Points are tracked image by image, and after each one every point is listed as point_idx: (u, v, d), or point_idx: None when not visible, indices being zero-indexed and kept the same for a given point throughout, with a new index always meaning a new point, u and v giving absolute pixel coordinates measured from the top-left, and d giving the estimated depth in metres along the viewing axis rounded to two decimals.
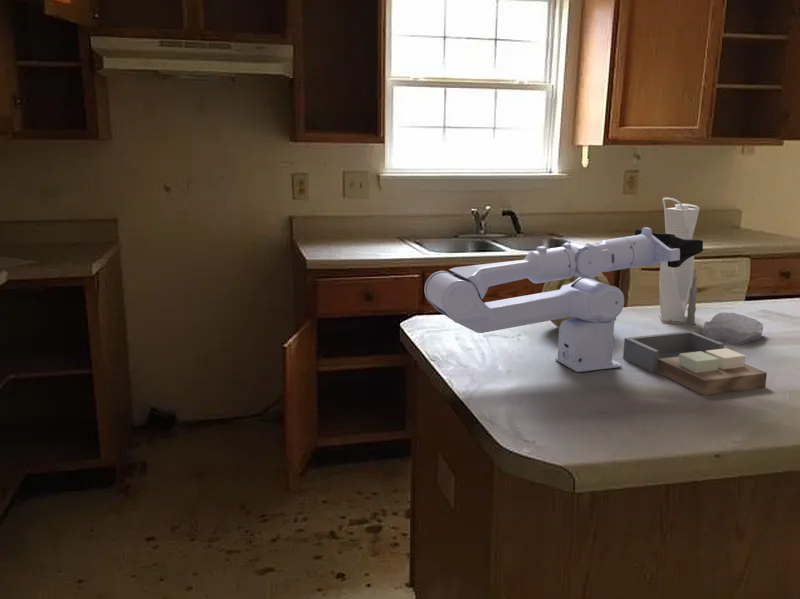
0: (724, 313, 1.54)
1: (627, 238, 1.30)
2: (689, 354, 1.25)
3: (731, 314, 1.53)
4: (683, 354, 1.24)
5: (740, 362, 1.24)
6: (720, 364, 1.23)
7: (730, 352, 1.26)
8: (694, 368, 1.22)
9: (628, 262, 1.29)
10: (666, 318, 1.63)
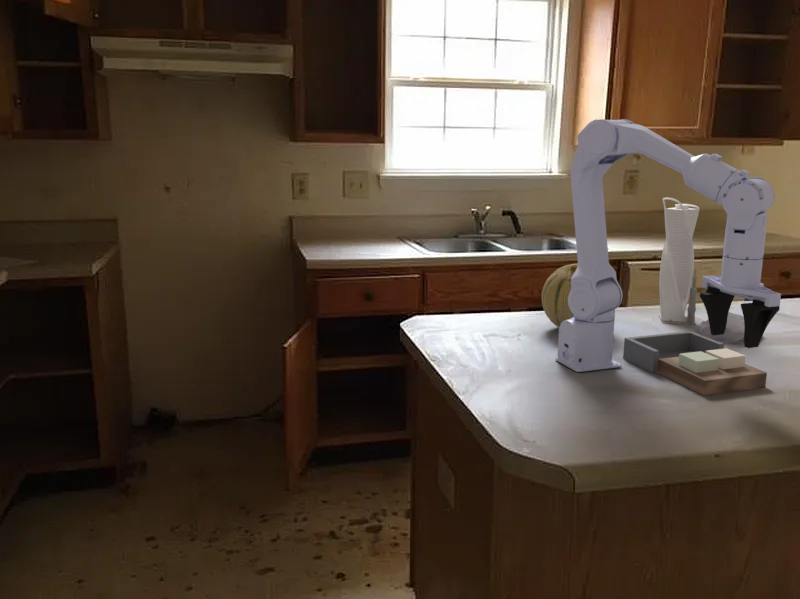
0: None
1: None
2: (689, 354, 1.25)
3: None
4: (683, 354, 1.24)
5: (740, 362, 1.24)
6: (720, 364, 1.23)
7: (730, 352, 1.26)
8: (694, 368, 1.22)
9: (729, 252, 1.11)
10: (666, 318, 1.63)
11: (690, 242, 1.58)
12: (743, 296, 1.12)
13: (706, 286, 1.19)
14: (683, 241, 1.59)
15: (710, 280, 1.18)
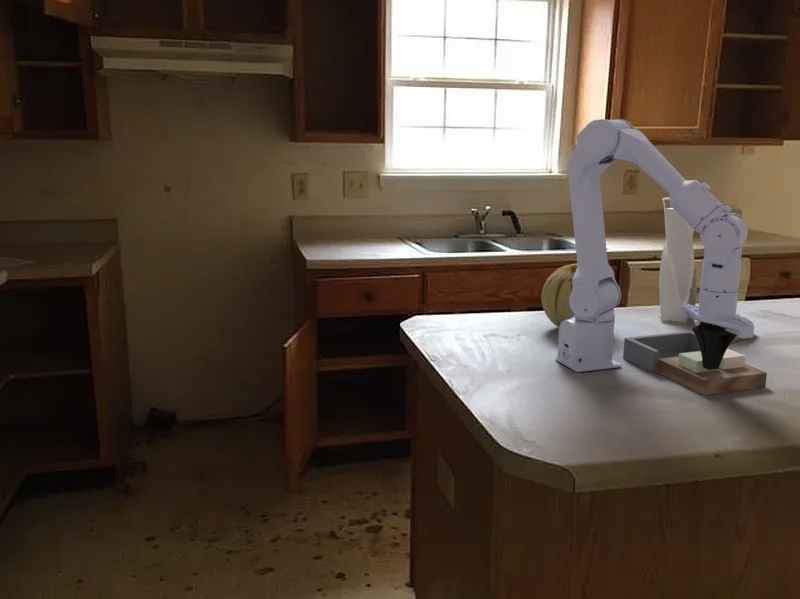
0: None
1: None
2: (689, 354, 1.25)
3: None
4: (683, 354, 1.25)
5: (740, 362, 1.24)
6: (720, 364, 1.23)
7: (730, 352, 1.26)
8: (694, 368, 1.22)
9: (707, 285, 1.16)
10: (666, 318, 1.63)
11: (690, 242, 1.58)
12: (719, 326, 1.18)
13: (685, 315, 1.25)
14: (683, 241, 1.59)
15: (689, 309, 1.23)
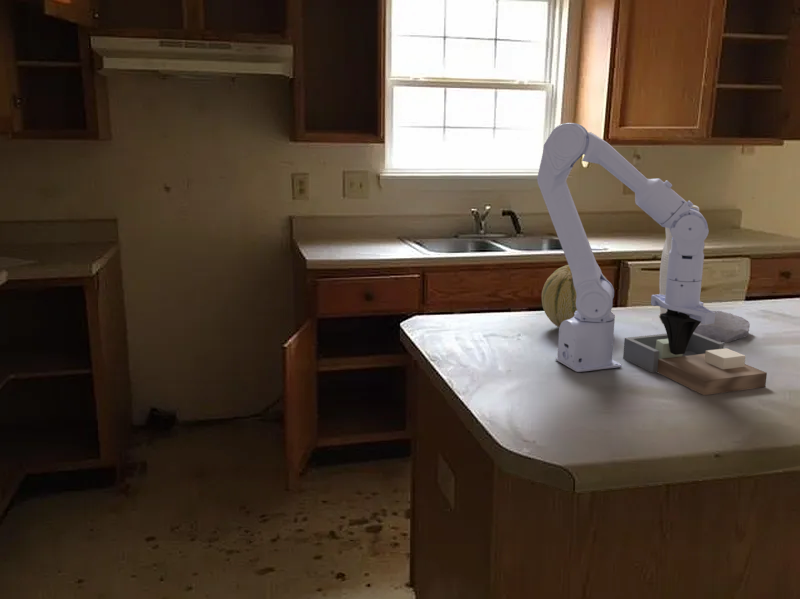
0: None
1: (699, 279, 1.26)
2: None
3: (718, 312, 1.55)
4: None
5: (740, 362, 1.24)
6: (720, 364, 1.23)
7: (730, 352, 1.26)
8: (661, 345, 1.30)
9: (677, 275, 1.24)
10: None
11: None
12: (684, 314, 1.26)
13: (654, 304, 1.33)
14: None
15: (657, 298, 1.31)
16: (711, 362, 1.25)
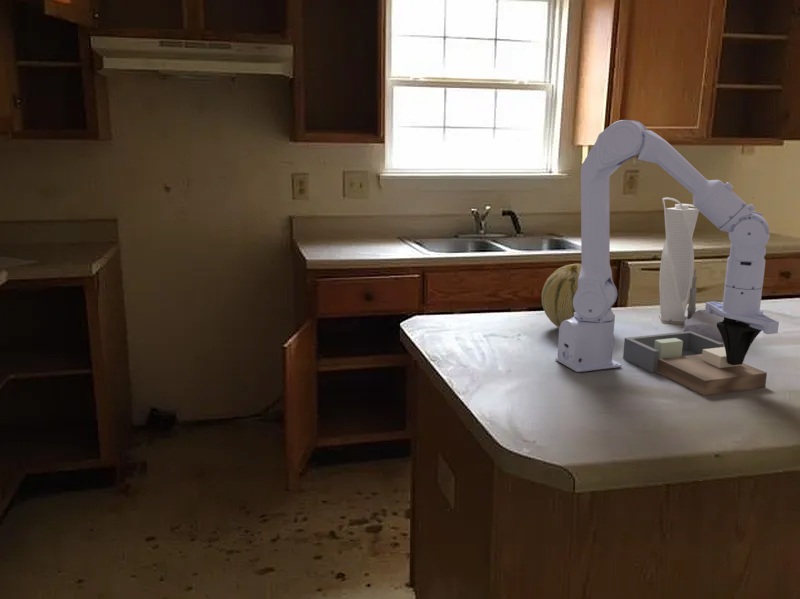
0: (703, 310, 1.57)
1: None
2: None
3: None
4: None
5: None
6: (717, 363, 1.24)
7: None
8: (659, 344, 1.30)
9: (735, 282, 1.18)
10: (666, 318, 1.63)
11: (690, 242, 1.58)
12: (743, 323, 1.20)
13: (709, 312, 1.27)
14: (683, 241, 1.59)
15: (712, 306, 1.25)
16: (708, 361, 1.26)
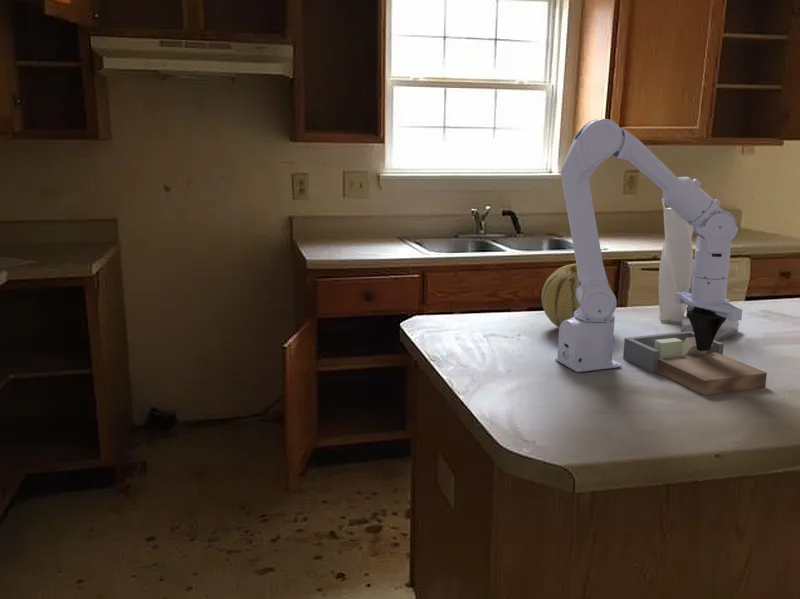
0: None
1: None
2: None
3: None
4: None
5: None
6: (688, 345, 1.31)
7: None
8: (659, 344, 1.30)
9: (707, 273, 1.25)
10: (665, 318, 1.63)
11: (689, 242, 1.58)
12: (710, 311, 1.27)
13: (679, 301, 1.34)
14: (682, 241, 1.59)
15: (682, 296, 1.33)
16: (683, 353, 1.33)
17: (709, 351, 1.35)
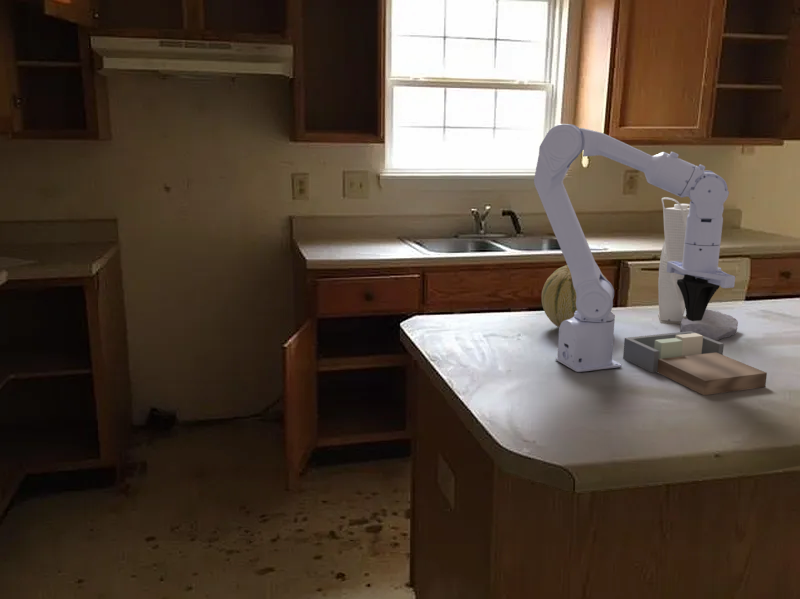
0: None
1: None
2: None
3: (707, 311, 1.56)
4: None
5: (695, 335, 1.35)
6: None
7: None
8: (659, 344, 1.30)
9: (696, 239, 1.21)
10: (665, 318, 1.64)
11: None
12: None
13: (670, 270, 1.31)
14: (682, 241, 1.59)
15: (673, 264, 1.29)
16: None
17: (709, 351, 1.35)
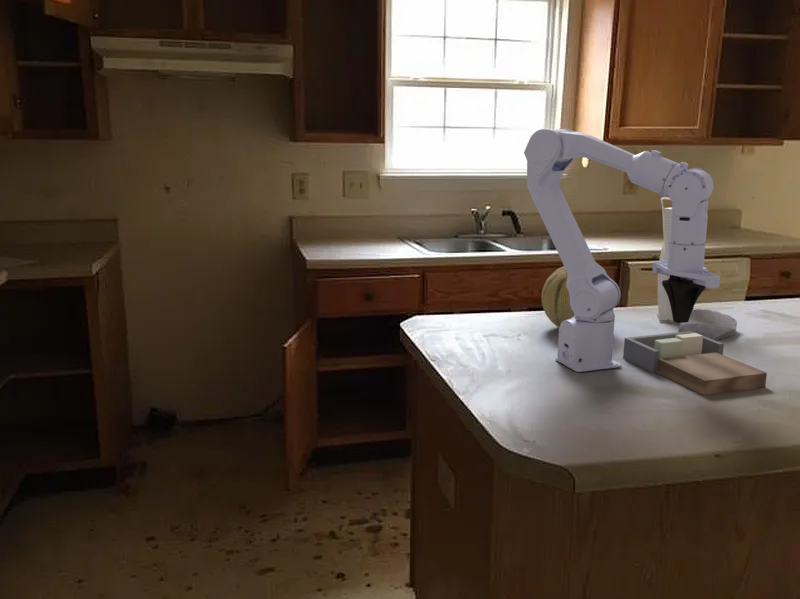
0: (699, 310, 1.57)
1: (703, 243, 1.20)
2: None
3: (706, 311, 1.56)
4: None
5: (695, 335, 1.35)
6: None
7: None
8: (659, 344, 1.30)
9: (675, 238, 1.19)
10: (664, 317, 1.64)
11: None
12: (688, 279, 1.20)
13: (656, 271, 1.27)
14: None
15: (659, 265, 1.25)
16: None
17: (709, 351, 1.35)
